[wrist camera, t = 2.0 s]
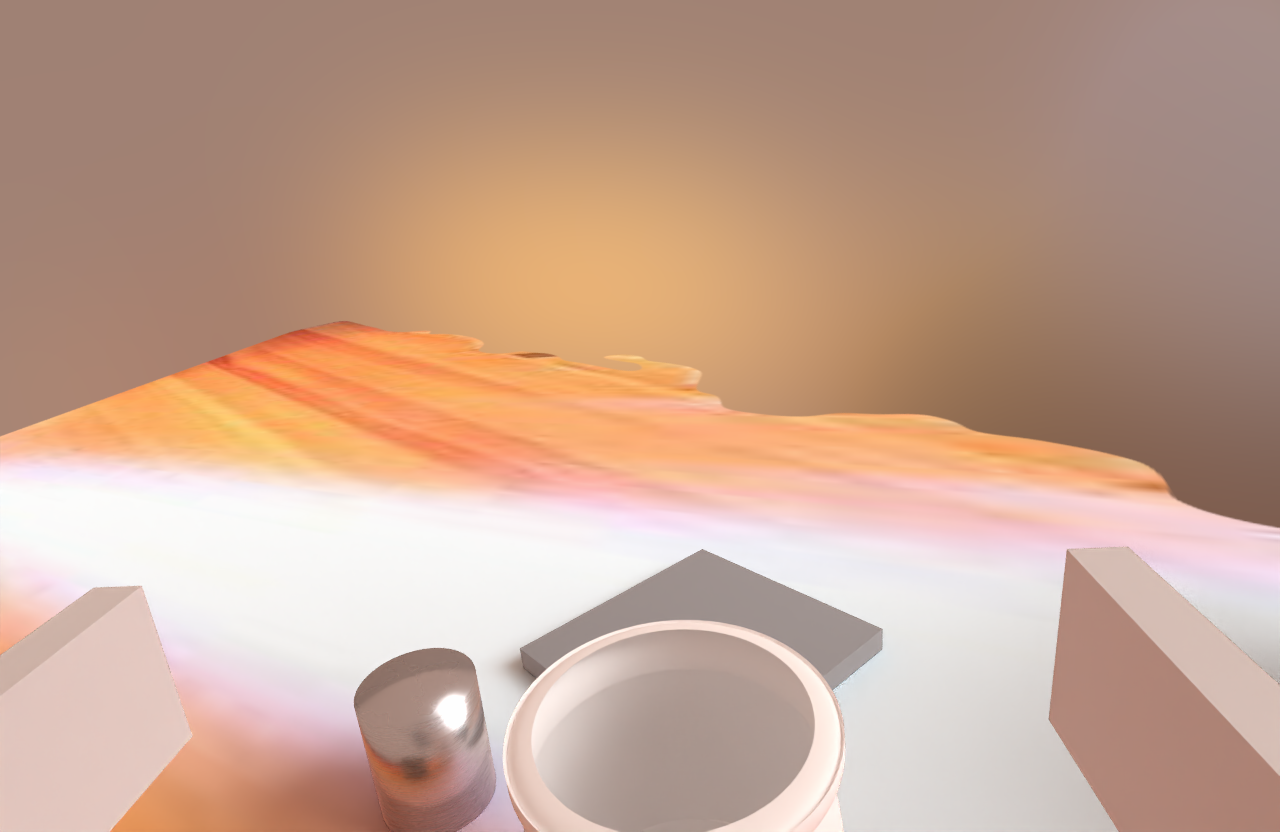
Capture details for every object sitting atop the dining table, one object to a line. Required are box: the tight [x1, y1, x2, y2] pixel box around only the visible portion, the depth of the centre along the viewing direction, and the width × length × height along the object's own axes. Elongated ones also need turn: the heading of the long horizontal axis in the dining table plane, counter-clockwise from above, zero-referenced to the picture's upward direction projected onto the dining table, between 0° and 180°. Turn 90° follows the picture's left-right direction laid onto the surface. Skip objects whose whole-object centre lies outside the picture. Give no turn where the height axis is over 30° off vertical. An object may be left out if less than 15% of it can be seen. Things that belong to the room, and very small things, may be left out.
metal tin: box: [354, 648, 496, 832], centre depth 40 cm, size 6×6×7 cm
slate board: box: [520, 549, 883, 690], centre depth 49 cm, size 16×17×2 cm
